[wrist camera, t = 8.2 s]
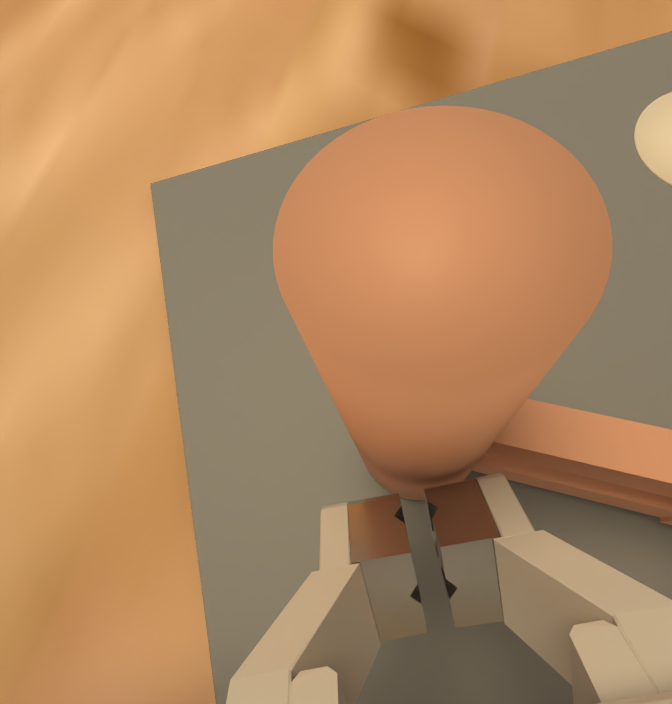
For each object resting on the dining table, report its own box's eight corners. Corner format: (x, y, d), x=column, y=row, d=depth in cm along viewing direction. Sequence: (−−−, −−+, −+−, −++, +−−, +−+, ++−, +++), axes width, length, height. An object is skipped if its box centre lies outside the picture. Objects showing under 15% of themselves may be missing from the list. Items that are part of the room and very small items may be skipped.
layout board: (155, 190, 20) (149, 182, 19) (921, -34, 19) (932, -47, 19) (250, 919, 12) (244, 932, 11) (1613, 587, 11) (1661, 589, 10)
